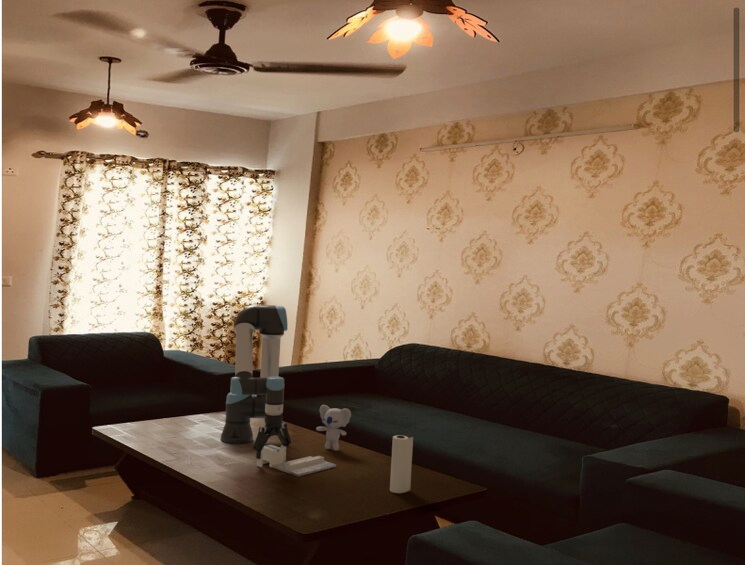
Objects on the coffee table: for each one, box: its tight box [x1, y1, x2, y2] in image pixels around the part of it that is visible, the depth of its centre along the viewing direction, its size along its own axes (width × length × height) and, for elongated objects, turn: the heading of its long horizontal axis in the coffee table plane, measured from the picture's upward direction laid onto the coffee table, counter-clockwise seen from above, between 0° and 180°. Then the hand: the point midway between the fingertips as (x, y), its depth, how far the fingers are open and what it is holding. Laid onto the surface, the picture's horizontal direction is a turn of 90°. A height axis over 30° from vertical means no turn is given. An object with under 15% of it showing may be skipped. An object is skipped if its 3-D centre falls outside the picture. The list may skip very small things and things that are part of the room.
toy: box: [315, 404, 352, 452], centre depth 335 cm, size 17×10×20 cm, turn 62°
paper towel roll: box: [389, 434, 414, 494], centre depth 280 cm, size 7×6×21 cm
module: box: [262, 444, 284, 468], centre depth 307 cm, size 8×6×7 cm
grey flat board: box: [271, 455, 337, 477], centre depth 305 cm, size 16×22×3 cm
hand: (271, 463), depth 307 cm, fingers open, 12 cm apart
